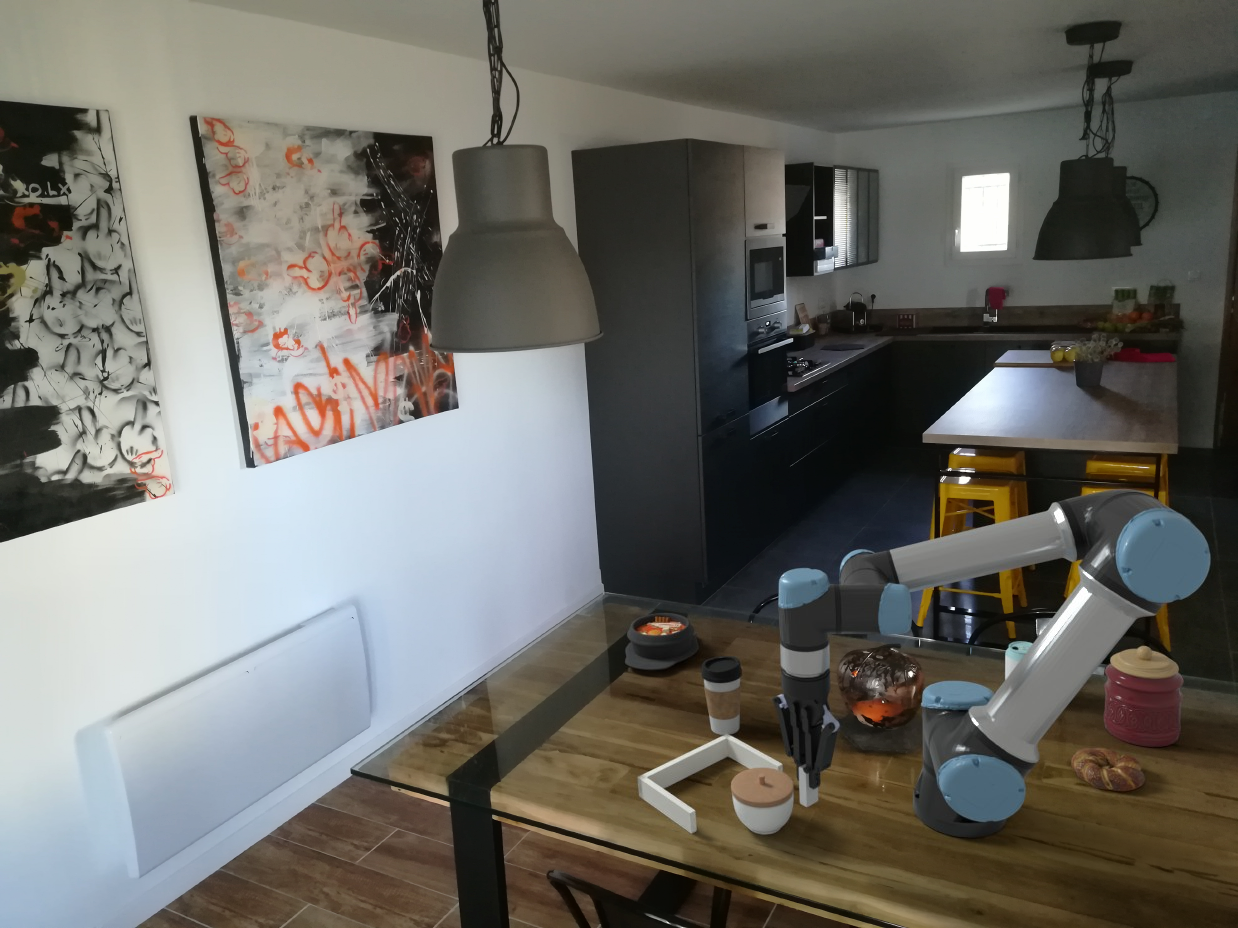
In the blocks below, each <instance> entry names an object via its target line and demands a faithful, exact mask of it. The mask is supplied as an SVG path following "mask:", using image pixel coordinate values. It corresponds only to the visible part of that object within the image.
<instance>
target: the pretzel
mask: <svg viewBox="0 0 1238 928" xmlns="http://www.w3.org/2000/svg"><path fill="white" fill-rule="evenodd" d="M1070 764H1071V767H1072V769H1073V771H1074V772H1075V773H1076V776H1077V777H1078V778H1079V779H1080V780H1082V781H1083V782H1086V783H1089V784H1090V785H1091V786H1092V787H1094V788H1096V789H1099V790H1104V791H1106V790H1111V791H1113V792H1129V791H1132V790H1136V789H1138V788H1140V787H1141V786H1143V784H1144V783H1145V781H1146V779H1145V775H1144V773H1143V771H1141V770H1142V766H1141V764H1140V761H1138V760H1137V759H1136V758H1135V757H1134V756H1131V755H1128V754H1123V755H1119V753H1118V752H1116V751H1114V750H1112V749H1109V748H1106V747H1095V748H1092V747H1091V748H1086V747H1085V748H1081V749H1079V750H1076V752H1075V753H1074V754H1073V755H1072V757H1071V761H1070Z"/></svg>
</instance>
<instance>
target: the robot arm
mask: <svg viewBox="0 0 1238 928" xmlns="http://www.w3.org/2000/svg"><path fill="white" fill-rule="evenodd" d="M1062 558H1063V559H1066V560H1068V561H1069V562H1072V563H1074V562H1079V561H1080V562H1079V564H1078V566H1077V567H1078V572H1079V578H1080V579H1079V580H1080V582H1079V583H1078V584H1076V585H1077V586H1076V587H1075V588H1074V589H1073V591H1072V592H1071V593H1070V595H1068V597H1067V599H1065V601H1064V602H1063V604H1061V606H1060V608H1059V609H1058V610H1057V612H1056V613H1055V614H1054V616H1053V617H1051V619H1050V621H1049V622H1048V624H1047V625H1046V626H1045V627H1044V628H1043V630H1042V631H1041V633H1040V634H1039V635H1038V636H1037V638H1036V639H1035V641H1033V645H1032V646H1031V647H1030V648H1029V650H1028V651H1027V652H1026V654H1025V655H1024V656H1023V658H1022V659H1021V660H1020V662H1019V663H1018V664H1017V666H1016V667H1015V668H1014V669H1013V671H1012V672H1011V673H1010V675H1009V676H1008V677H1007V679H1006V680H1004V681H1003V683H1002V684H1001V685H1000V687H999V688H998V689H997V691H996V692H995V693H994V691H992V690H991V689H990V688H988V687H987V686H984V685H983V684H982V685H981V684H979V683H975V682H970V681H964V680H963V681H962V680H944V681H938V682H935V683H933V684H929V685H928V686H926V687H925V688H924V690H923V691H922V697H921V698H922V700H921V701H922V702H921V703H920V706H921V709H922V768H921V771H920V773H919V776H918V779H917V781H916V784H915V787H914V789H913V793H912V808H913V811H914V813H915V816H917V818H918V819H919V820H920V821H921V822H922V823H923V824H924V825H925V826H927V827H929V828H931V829H932V830H933V831H934V830H935V831H937V832H939V833H942V834H945V835H949V836H953V837H958V838H972V839H973V838H981V837H988V836H989V835H990V836H991V835H994V834H996V832H999V831H1000V830H1001V829H1002V828H1003V827H1004V826H1005V825H1006V823H1007V819H1008V818H1010V817H1011V816H1013V815H1014V814H1015V813H1016V812H1018V811H1019V810H1020V809H1021V807H1022V805H1023V804H1024V801H1025V799H1026V798H1025V797H1026V783H1025V778H1026V776H1027V775H1028V774H1029V773H1030V772H1031V771H1032V769H1033V768H1034V767H1035V765H1036V764H1037V763H1038V762H1039V760H1040V752H1039V751H1040V750H1039V748H1038V744H1039V742H1040V740H1041V739H1042V738H1043V737H1044V735H1045V734H1047V731H1049V729H1050V728H1051V726H1052V725H1053V724H1054V723H1055V721H1057V719H1058V718H1059V717H1060V715H1061V714H1062V713H1063V712H1064V710H1065V709H1066V708H1067V706H1069V704H1070V703H1071V701H1072V700H1073V699H1074V698H1075V697H1076V695H1077V694H1078V693H1079V691H1080V690H1082V688H1083V686H1085V684H1086V683H1087V681H1088V680H1089V679H1090V678H1091V676H1092V675H1093V674H1094V673H1095V672H1096V670H1097V669H1098V668H1099V666H1100V665H1102V663H1103V661H1104V660H1105V659H1106V658H1107V657H1108V656H1109V654H1110V652H1111V651H1112V650H1113V649H1114V648H1115V646H1116V645H1117V644H1118V642H1120V640H1121V639H1122V638H1123V636H1125V634H1126V633H1127V631H1128V630H1129V629H1130V627H1132V625H1133V624H1134V623H1135V621H1136V620H1137V619H1139V618H1144V617H1153V616H1156V615H1157V614H1158V612H1159V611H1160V610H1161V609H1162V608H1163V607H1164V605H1165V604H1167V603H1173V602H1174V601H1177V600H1183V599H1185V598H1188V597H1190V596H1191V595H1193V593H1194V592H1196V591H1197V590H1198V589H1200V587H1201V585H1203V583H1204V582H1205V580H1206V578H1207V576H1208V574H1209V571H1210V567H1211V552H1210V548H1209V544H1208V542H1207V540H1206V538H1205V536H1204V535H1203V533H1202V532H1201V530H1199V529H1198V528H1197V527H1196V526H1195V524H1194V523H1193V522H1192V521H1191V520H1190V519H1189V518H1187V517H1186V516H1184V515H1183V514H1182V513H1180V512H1178V511H1176V510H1174V509H1172V508H1171V507H1169V506H1167V505H1165V503H1163V502H1162V501H1160V499H1158V498H1157V497H1155V496H1153V495H1152V494H1150V493H1148V492H1145V491H1141V490H1137V489H1129V488H1118V489H1117V488H1114V489H1109V490H1104V491H1103V490H1102V491H1098V492H1091V493H1088V494H1083V495H1079V496H1075V497H1074V496H1073V497H1071V498H1067V499H1063V500H1059V501H1055V502H1052V503H1051V505H1050V507H1049V508H1048V510H1046V511H1042V512H1036V513H1034V514H1030V515H1026V516H1022V517H1017V518H1013V519H1009V520H1006V521H1001V522H998V523H993V524H990V525H986V526H981V527H977V528H973V529H969V530H965V531H961V532H957V533H953V534H949V535H945V536H942V537H937V538H933V539H929V540H924V541H921V542H917V543H913V544H908V545H905V546H901V547H896V548H893V549H888V550H884V551H879V552H874V551H872V550H870V549H869V550H868V549H863V548H862V549H861V548H860V549H856V550H853V551H850V552H849V553H848V554H846V555H845V556H844V557H843V559H842V561H841V563H840V567H839V575H838V576H839V584H838V583H837V584H836V583H835V584H834V583H830V581H829V577H828V575H827V573H826V572H823V571H822V570H820V569H815V568H814V569H811V568H809V567H801V568H794V569H790V570H787V571H786V572H783V574H782V575H781V576H780V578H779V580H778V617H779V623H778V624H779V637H780V638H779V641H780V643H779V645H780V646H779V647H780V649H779V651H780V667H781V670H780V675H781V676H780V680H781V690H782V692H783V693H781V694H779V695H776V696H774V697H773V698H772V699H771V700H772V703H773V706H774V708H775V710H776V712H777V717H778V721H779V727H780V731H781V736H782V741H783V745H784V746H783V747H784V751H785V754H786V756H787V758H792V759H793V762H794V764H795V765H796V766H795V767H796V779H797V781H798V783H799V784H798V785H799V787H798V788H799V791H798V792H799V804H800V805H802V806H803V807H806V808H808V807H810V806H812V805H813V804H816V803H818V802H819V787H820V786H821V773H822V772H824V771H826V770H827V769H828V768H831V766H832V762H833V757H834V753H835V752H834V751H835V746H836V741H837V737H838V732H839V731H840V730H841V728H842V727H843V726H844V722H843V720H842V719H841V718H840V717H839V718H838V717H837V718H835V717H834V716H833V715H832V713H831V712H830V711H831V706H830V704H829V701H828V699H829V694H830V691H831V669H830V665H831V663H830V659H831V658H830V635H845V634H846V635H879V636H880V635H881V636H888V635H900V634H901V635H902V634H906V633H908V632H909V631H910V630H911V627H912V620H913V619H912V616H913V611H912V608H913V607H912V598H911V593H913V592H917V591H923V590H927V589H931V588H935V587H940V586H943V585H944V586H945V585H948V584H953V583H957V582H961V581H965V580H971V579H974V578H978V577H983V576H987V575H992V574H997V573H1000V572H1001V573H1002V572H1006V571H1010V570H1014V569H1018V568H1022V567H1027V566H1030V565H1035V564H1040V563H1044V562H1049V561H1053V560H1058V559H1062Z"/></svg>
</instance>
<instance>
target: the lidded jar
mask: <svg viewBox="0 0 1238 928" xmlns="http://www.w3.org/2000/svg"><path fill="white" fill-rule="evenodd" d="M794 786H795V785H794V781H793V780H792V778H791V776H789V775H788V774H786V773H785V772H784V771H783V772H782V771H779V770H776V769H772V768H752V769H749V768H747V769H744V770H743V771H741V772H739V773H737V774H736V775H735V776H734V777H733V778H732V780H731V782H730V791H731V794H732V795H731V796H732V803H733V808H734V812H735V814H736V815H737V818H738V819H739V820H740V822H741V824H743V825H745V827H747V829H748V830H749V831H751V832H752V833H754V834H757V835H763V836H765V835H766V836H767V835H773V834H776V833H777V832H779V831H780V830H781V829H782V828H783V826H785V825H786V823H788V822H789V819H790V817H791V815H792V812H793V808H794V791H795V787H794Z"/></svg>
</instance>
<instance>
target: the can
mask: <svg viewBox="0 0 1238 928" xmlns="http://www.w3.org/2000/svg"><path fill="white" fill-rule="evenodd" d="M1033 643H1034V642H1033ZM1033 643H1032V642H1030V641H1029V642H1028V641H1021V640H1020V641H1013V642H1011V643H1009V644H1008V648H1007V649H1006V650H1005V657H1004V658H1005V660H1004V661H1005V662H1004V663H1005V666H1004V667H1005V668H1004V669H1005V670H1004V676H1005V677H1004V679H1005V680H1006V679H1007V677H1008V676H1009V675H1010V673H1011V672H1012V671H1013V669H1014V668H1015V667H1016V666H1017V664H1018V663H1019V662H1020V660H1021V659H1022V658H1023V656H1024V655H1025V654H1026V652H1027V651H1028V650H1029V648H1030V647H1031V646H1032V645H1033ZM1005 680H1004V681H1005Z"/></svg>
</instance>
